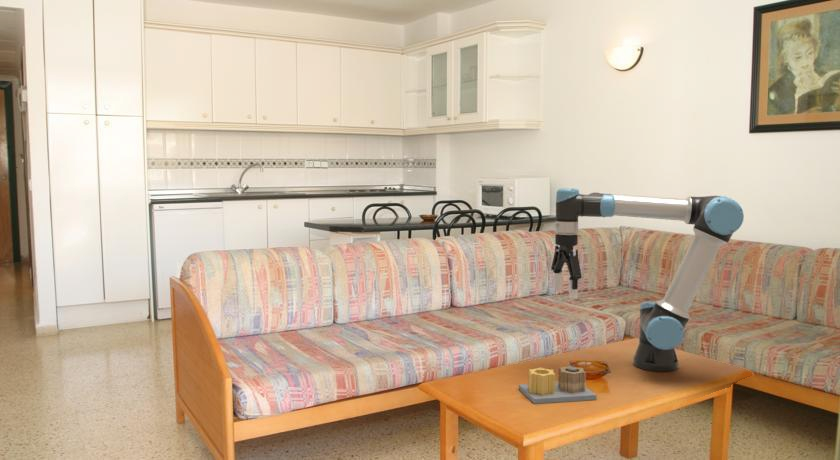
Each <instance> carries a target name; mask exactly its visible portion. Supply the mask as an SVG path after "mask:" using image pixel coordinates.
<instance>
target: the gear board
mask: <svg viewBox="0 0 840 460" xmlns="http://www.w3.org/2000/svg"><path fill="white" fill-rule="evenodd" d="M566 367H567V370H568V371H577V367H578V366H577V367H576V366H572V367H568V366H566ZM518 390H519V391H520V392H521V393H522V394H523V395H524V396H525V397H526V398H527V399H528V400H529V401H530V402H531V403H532V404H533V405H538V404H555V403H565V402H566V403H567V402H568V403H569V402H581V401H582V402H584V401H596V400H597V394H596V393H595V392H593V391H592V390H590V389H589V388H588V387H586V389H585V391H581V392H576V393H572V392H568V391H561V390H560V387H558V381H555V393H554V394H553V393H550V394H545V395H541V394H536V393H530V392H529V389H528V383H522V384H521V383H519V384H518Z"/></svg>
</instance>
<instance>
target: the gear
mask: <svg viewBox="0 0 840 460" xmlns="http://www.w3.org/2000/svg"><path fill="white" fill-rule="evenodd" d="M567 367H573V366H572V365H568V366H563V367H562V366H561V367H558V381H557V382H558V387H560V390H561V391H568V392H572V393H576V392H581V391H585V389H586V388H587V385H586V381H587V380H586V379H587V371H585V368H583V367H578V366H577V371H568V370H567Z"/></svg>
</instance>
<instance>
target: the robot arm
mask: <svg viewBox="0 0 840 460" xmlns="http://www.w3.org/2000/svg"><path fill="white" fill-rule="evenodd" d="M555 195H556V197H555V198H556V199H555V223H554V227H555V236H554V238H555V239H554V242H555V243H554V244H555V249H554V255H553V257H552V258H553V259H552V262H551V263H552V264H551V267H550V269H551V271H552V273H553V292H557V293H558V292H562V291H563V290H562V288H563V284H562V283H563V267H564V265H565V264H566V266H567V269H568V273H569V276H570V277H569V278H568V280H569V285H568V286H569V288H568V290H569V293H568V299H569V300H578V298H579V296H578V294H579V280H580V279H582V273H581V266H580V260H579V251H578V249H574V247H576V246H578V244H579V243H578V239H579V238H578V237H579V235H578V233H579V217H582V218H583V217H587V218H588V217H590V218H591V217H593V218H594V217H596V218H612V217H614V216H617V217H629V218H642V219H643V218H644V219H655V220H657V219H658V220H666V221H667V220H668V221H669V220H670V221H683V222H684V223H685V224H686V225H694V226H693V227H692V230H693V232H694V236H693V238H692V240H691V242H690V244H689V247H688V248H687V250H686V253H685V255H684V256H683V258H682V261H681V262H680V264H679V267H677V268H678V269H677V271H676V272H675V274H674V276H673V278H672V280H671V283H670V284H669V286H668V289H667V290H666V292H665V295H664V297H663V298H662V299H660V300H657V301H642V303H641V304H640V309H639V334H638V335H639V336H638V337H639V338H638V339H639V342H638V345H637V348H636V349H635V350H636V351H635V354H634V356H633V365H634V366H635V367H637V368H640V369H643V370H646V371H653V372H672V371H676V370H678V368H679V360H678V356H677V353H676V350H675V349H676V348H677V347H678V346H679V345H681V343H682V341H683V340H684V337H685V328H686V326H687V324H688V322H689V321H690V314H689V309H690V307H691V306H692V303H693V302H694V300H695V298H696V296H697V294H698V291H699V290H700V288H701V286H702V284H703V281H704V280H705V278H706V276H707V274H708V272H709V271H710V268H711V266H712V264H713V262H714V260H715V258H716V256H717V254H718V252H719V251H720V248H721V247H722V246H724V245H727V244H729V242H730V240H731V238H732V236H733V234H734V233H736V231H737V230H739V229H740V228H741V226H742V225H743V223H744V217H745V216H744V211H743V208H742V207H741V205H740V203H739V202H737V201H736V200H734V199H732V198H731V197H727V196H721V195H709V196H708V195H707V196H687V197H686V198H674V197H673V198H672V197H661V196H659V197H658V196H643V195H629V194H616V193H612V194H611V193H600V192H591V193H589V194H581V193H580V190H579V189H578V188H571V187H570V188H564V187H562V188H558V189H557V191H556V194H555Z"/></svg>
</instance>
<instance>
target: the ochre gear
mask: <svg viewBox="0 0 840 460" xmlns="http://www.w3.org/2000/svg"><path fill="white" fill-rule="evenodd" d="M527 379H528V382H527V384H528V389H529V392H530V393H536V394H541V395H545V394H550V393H553V394H554V393H555V382H556V373H555V370H554V369H548V368H544V367H538V368H537V367H536V368H533V369H531V368H529V369H528V378H527Z"/></svg>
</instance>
